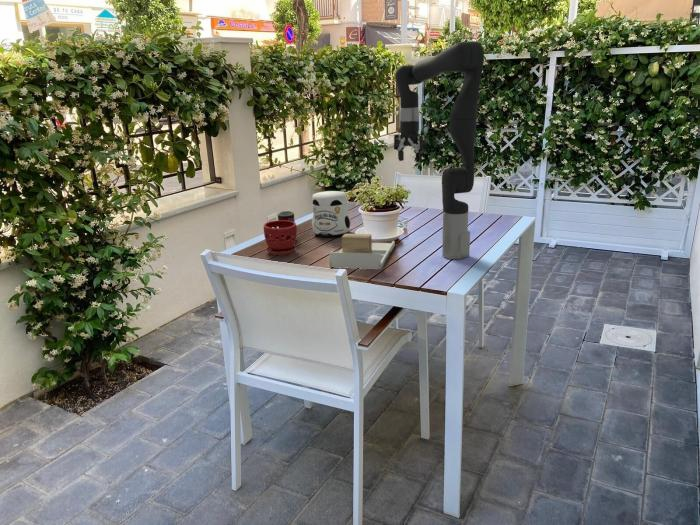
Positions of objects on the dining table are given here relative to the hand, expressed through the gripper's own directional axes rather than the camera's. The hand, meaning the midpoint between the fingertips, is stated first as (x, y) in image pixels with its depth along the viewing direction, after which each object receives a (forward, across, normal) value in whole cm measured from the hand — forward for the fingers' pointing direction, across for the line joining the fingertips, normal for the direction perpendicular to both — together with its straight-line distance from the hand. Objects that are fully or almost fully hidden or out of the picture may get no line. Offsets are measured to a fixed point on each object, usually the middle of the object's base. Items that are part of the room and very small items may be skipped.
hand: (409, 161), depth 215 cm
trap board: (+33, -2, -27) cm, 43 cm away
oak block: (+32, +4, -36) cm, 48 cm away
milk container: (+33, -35, -12) cm, 50 cm away
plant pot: (+33, -32, -43) cm, 63 cm away
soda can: (+33, -44, -30) cm, 63 cm away
